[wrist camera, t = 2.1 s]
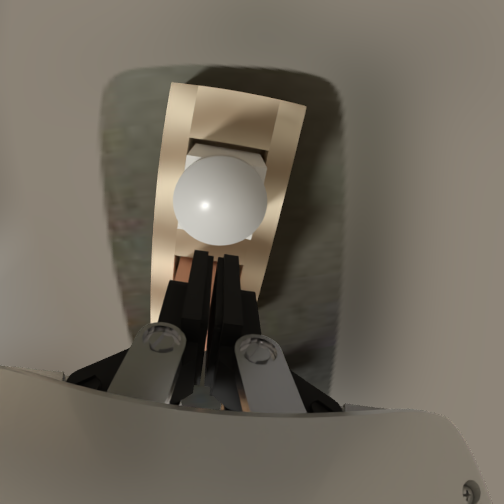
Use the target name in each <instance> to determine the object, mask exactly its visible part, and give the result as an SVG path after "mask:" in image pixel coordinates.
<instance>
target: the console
mask: <svg viewBox="0 0 504 504" xmlns="http://www.w3.org/2000/svg"><path fill="white" fill-rule="evenodd" d="M306 107H307V106H303V105H299V104H295V103H291V102H287V101H283V100H278V99H274V98H269V97H265V96H260V95H255V94H249V93H244V92H238V91H233V90H226V89H220V88H213V87H206V86H198V85H190V84H181V83H171V88H170V94H169V100H168V105H167V112H166V118H165V124H164V131H163V138H162V146H161V153H160V162H159V170H158V179H157V189H156V200H155V213H154V227H153V243H152V266H151V323H155V322H158V318H159V315H160V311H161V307H162V304H163V300H164V297H165V293H166V290H167V286H168V283H169V280H175V277H176V273H177V269H178V266H179V262H180V258H181V256H182V257H189V258H193V255H194V251H195V250H201V251H208V252H209V254H208V255H209V256H214V261H216V262H217V261H218V257H224V254H228V255H235V256H239V269H240V284H241V290H246V291H254V292H255V293H256V299H257V300H258V296H259V293H260V289H261V285H262V281H263V278H264V274H265V270H266V266H267V263H268V259H269V255H270V251H271V247H272V243H273V240H274V236H275V232H276V228H277V224H278V220H279V216H280V212H281V208H282V205H283V201H284V197H285V193H286V189H287V185H288V181H289V177H290V173H291V169H292V165H293V161H294V157H295V153H296V148H297V144H298V140H299V136H300V132H301V128H302V124H303V120H304V115H305V111H306ZM196 143H197V144H204V145H211V146H217V147H224V148H230V149H236V150H241V151H247V152H252V153H258V154H260V155H261V157H262V159H263V161H264V163H265V165H266V167H267V171H266V176H265V180H264V186H265V189H266V193H267V209H266V213H265V216H264V219H263V221H262V223H261V224H260V226H259V227H258V228H257V229H256V231H255V232H254V233H252V238H251V240H249V239H244V240H242V241H240V242H237V243H234V244H230V245H220V246H218V245H210V244H206V243H203V242H201V241H198V240H196V239H195V238H193V237H192V236H190V235H189V234H188V233H187V232H186V231H185V230H183V229H177V227H178V220H177V218H176V215H175V212H174V208H173V194H174V190H175V187H176V184H177V182H178V180H179V178H180V177H181V175H182V174H183V172H184V170H185V163H186V157H187V154H188V153H189V151H190V150H191V149H192V148H193V146H194V145H195V144H196Z"/></svg>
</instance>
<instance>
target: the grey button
mask: <svg viewBox="0 0 504 504" xmlns="http://www.w3.org/2000/svg"><path fill="white" fill-rule="evenodd" d="M266 171H267V167H266V165H265V163H264V161H263V159H262V157H261V155H260V154H258V153H252V152H247V151H241V150H236V149H230V148H224V147H217V146H211V145H204V144H197V143H196V144H195V145H194V146H193V148H192V149H191V150H190V151H189V153H188V154H187V157H186V163H185V170H184V172H183V174H182V175H181V177H180V178H179V180H178V182H177V184H176V187H175V190H174V194H173V208H174V212H175V215H176V218H177V220H178V227H177V229H183V230H185V231H186V232H187V233H188V234H189V235H190V236H192V237H193V238H195V239H196V240H198V241H201V242H203V243H206V244H210V245H218V246H220V245H230V244H234V243H237V242H240V241H242V240H244V239H249V240H251V238H252V233H254V232H255V231H256V229H257V228H258V227H259V226H260V224H261V223H262V221H263V219H264V216H265V213H266V209H267V193H266V189H265V186H264V180H265V176H266Z"/></svg>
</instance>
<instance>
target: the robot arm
mask: <svg viewBox="0 0 504 504" xmlns="http://www.w3.org/2000/svg"><path fill="white" fill-rule="evenodd" d="M208 254H209V252H208V251H201V250H195V251H194V255H193V260H192V265H191V270H190V275H189V280H188V282H181V281H175V280H169V283H168V286H167V290H166V293H165V297H164V300H163V304H162V307H161V311H160V315H159V318H158V322H155V323H151V324H148V325H146V326H144V327H143V328H142V329H141V330H140V331H139V332H138V334H137V336H136V338H135V339H134V341H133V343H132V345H131V347H130V348H128V349H127V350H124V351H121V352H119V353H117V354H115V355H112V356H110V357H108V358H105V359H103V360H101V361H99V362H96V363H94V364H91V365H89V366H86V367H84V368H82V369H79V370H77V371H75V372H74V373H72V374H71V375H70V376H67V375H64V372H59V371H48V370H37V369H29V368H20V367H9V366H1V365H0V504H493V503H492V500H491V497H490V494H489V491H488V489H487V486H486V483H485V481H484V478H483V476H482V473H481V471H480V469H479V466H478V465H477V462H476V460H475V458H474V456H473V453H472V452H471V450H470V448H469V446H468V444H467V443H466V441H465V439H464V437H463V436H462V434H461V432H460V431H459V429H458V428H457V427H456V426H455V424H454V423H453V422H451V421H450V420H449V419H448V418H446V417H444V416H442V415H439V414H436V413H433V412H428V411H424V410H414V409H384V408H375V407H367V406H360V405H352V404H344V406H339V404H338V403H337V402H336V401H335V400H333V399H332V398H331V397H329V396H328V395H326V394H325V393H323V392H322V391H320V390H319V389H317V388H316V387H314V386H313V385H311V384H310V383H308V382H307V381H305V380H304V379H302V378H301V377H299V376H298V375H297V374H295V373H294V372H292V371H291V370H289V367H288V365H287V362H286V360H285V357H284V355H283V352H282V350H281V348H280V347H279V345H278V344H277V343H276V342H275V341H274V340H272V339H270V338H268V337H266V336H263V335H261V329H260V321H259V314H258V307H257V299H256V293H255V292H254V291H246V290H241V284H240V269H239V256H235V255H228V254H224V257H218V261H217V267H216V273H215V279H214V285H213V291H212V298H211V285H212V273H213V261H214V256H209V255H208ZM210 298H211V304H210ZM207 330H208V332H207ZM206 337H207V347H206V364H205V383H204V386H207V387H210V396H214V397H215V398H216V399H217V400H218V401H219V402H220V403H221V405H220V410H214V409H204V408H195V407H187V406H181V403H182V399H184V398H186V397H187V396H189V395H190V394H192V393H193V387H194V385H200V379H201V371H202V364H203V357H204V350H205V344H206Z"/></svg>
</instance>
